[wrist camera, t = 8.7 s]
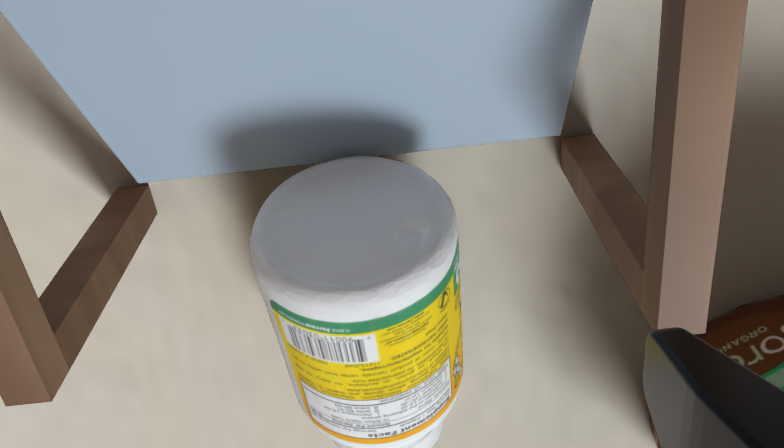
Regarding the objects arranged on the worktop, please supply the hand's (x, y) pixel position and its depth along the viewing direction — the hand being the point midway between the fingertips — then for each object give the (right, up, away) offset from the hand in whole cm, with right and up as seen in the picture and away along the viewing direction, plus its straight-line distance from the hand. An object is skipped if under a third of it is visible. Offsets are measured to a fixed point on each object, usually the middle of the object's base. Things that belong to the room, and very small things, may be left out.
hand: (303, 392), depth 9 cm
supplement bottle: (0, +3, +8) cm, 9 cm away
